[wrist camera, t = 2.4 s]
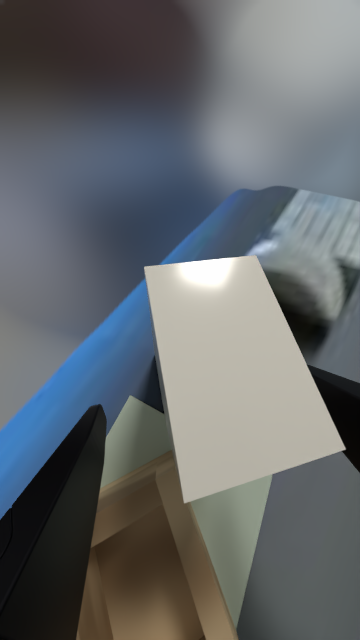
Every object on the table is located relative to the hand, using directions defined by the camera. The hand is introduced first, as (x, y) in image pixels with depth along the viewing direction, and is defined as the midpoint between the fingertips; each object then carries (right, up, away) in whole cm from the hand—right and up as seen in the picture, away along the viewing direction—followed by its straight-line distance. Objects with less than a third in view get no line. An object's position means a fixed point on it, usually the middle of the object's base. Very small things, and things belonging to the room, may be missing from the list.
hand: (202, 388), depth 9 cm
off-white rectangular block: (-1, -2, +8) cm, 8 cm away
